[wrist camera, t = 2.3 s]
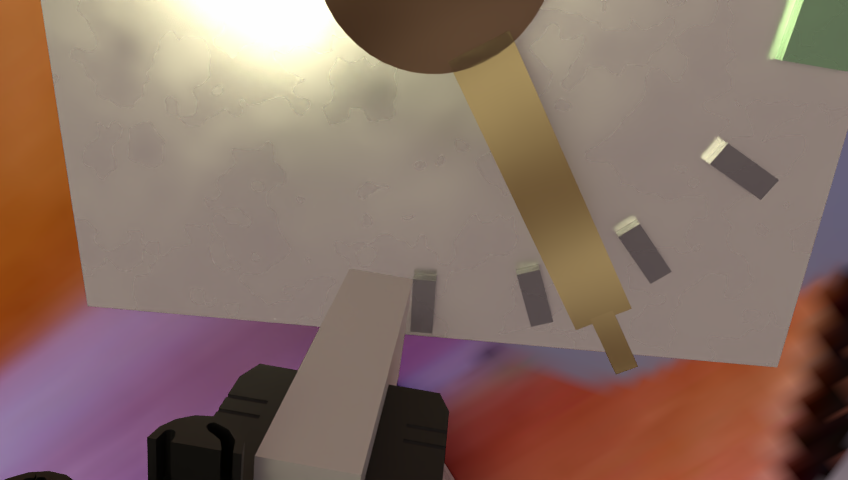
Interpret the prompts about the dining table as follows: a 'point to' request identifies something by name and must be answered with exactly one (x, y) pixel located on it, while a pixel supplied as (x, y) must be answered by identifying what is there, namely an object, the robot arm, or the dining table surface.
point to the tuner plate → (452, 166)
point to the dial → (505, 135)
